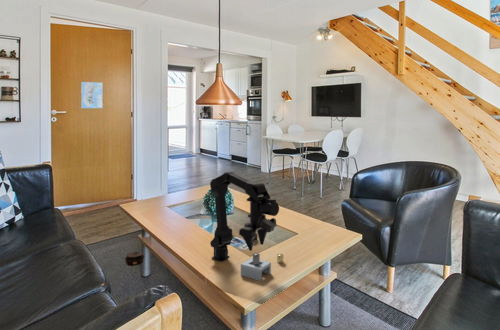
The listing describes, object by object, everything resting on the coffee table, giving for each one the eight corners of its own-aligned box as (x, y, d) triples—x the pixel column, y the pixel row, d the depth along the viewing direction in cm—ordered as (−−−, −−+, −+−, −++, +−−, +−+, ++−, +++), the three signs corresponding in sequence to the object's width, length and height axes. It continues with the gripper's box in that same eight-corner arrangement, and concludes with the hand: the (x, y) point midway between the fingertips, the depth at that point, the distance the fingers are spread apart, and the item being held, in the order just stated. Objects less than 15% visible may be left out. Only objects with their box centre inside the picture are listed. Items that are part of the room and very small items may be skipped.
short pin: (275, 264, 144) (276, 255, 144) (278, 262, 147) (278, 253, 147) (281, 265, 143) (281, 256, 143) (284, 263, 145) (284, 254, 145)
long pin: (251, 274, 133) (251, 254, 132) (254, 272, 135) (255, 252, 134) (257, 276, 131) (257, 256, 130) (260, 273, 133) (260, 254, 133)
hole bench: (240, 275, 132) (240, 264, 132) (251, 268, 140) (251, 257, 139) (260, 280, 127) (260, 269, 126) (270, 273, 134) (270, 262, 134)
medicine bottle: (245, 246, 169) (245, 225, 169) (241, 242, 176) (242, 222, 175) (257, 245, 171) (257, 224, 170) (253, 241, 178) (253, 221, 177)
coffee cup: (139, 275, 153) (139, 249, 152) (147, 279, 147) (147, 253, 147) (122, 280, 147) (122, 254, 146) (130, 285, 141) (130, 258, 140)
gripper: (261, 219, 119) (261, 257, 120) (283, 210, 135) (282, 245, 136) (238, 215, 125) (238, 252, 126) (261, 207, 141) (261, 240, 142)
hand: (256, 247), depth 132 cm, fingers open, 9 cm apart
